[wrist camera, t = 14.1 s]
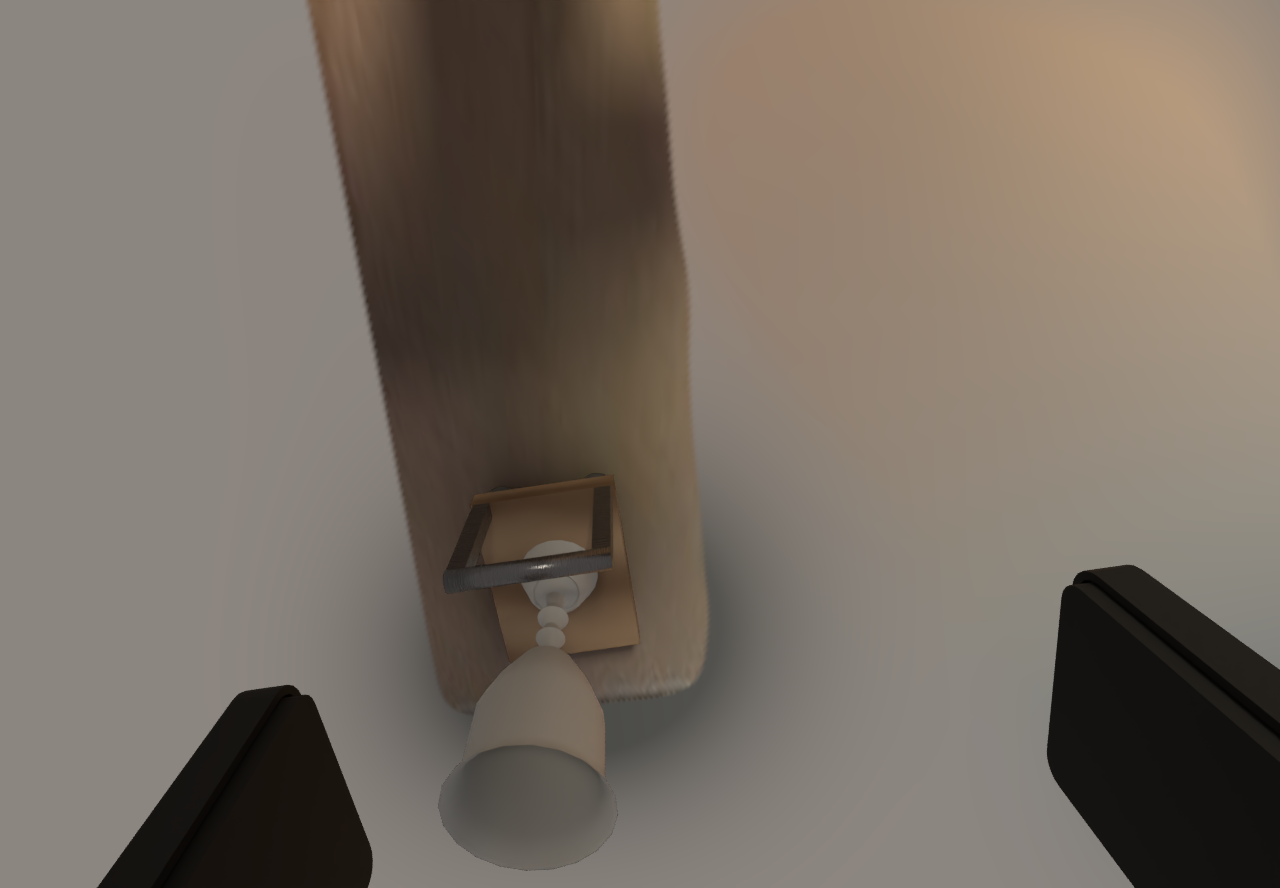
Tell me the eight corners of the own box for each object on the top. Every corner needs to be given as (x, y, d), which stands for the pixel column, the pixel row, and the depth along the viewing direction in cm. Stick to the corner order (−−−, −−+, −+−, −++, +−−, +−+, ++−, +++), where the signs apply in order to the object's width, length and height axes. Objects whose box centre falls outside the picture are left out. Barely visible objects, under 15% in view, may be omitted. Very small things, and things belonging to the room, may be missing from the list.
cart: (480, 478, 47) (437, 578, 35) (612, 459, 46) (614, 553, 35) (516, 627, 51) (489, 761, 39) (637, 610, 51) (646, 738, 39)
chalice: (487, 597, 45) (415, 843, 28) (524, 511, 43) (470, 722, 26) (590, 632, 47) (580, 888, 30) (631, 551, 44) (645, 775, 28)
